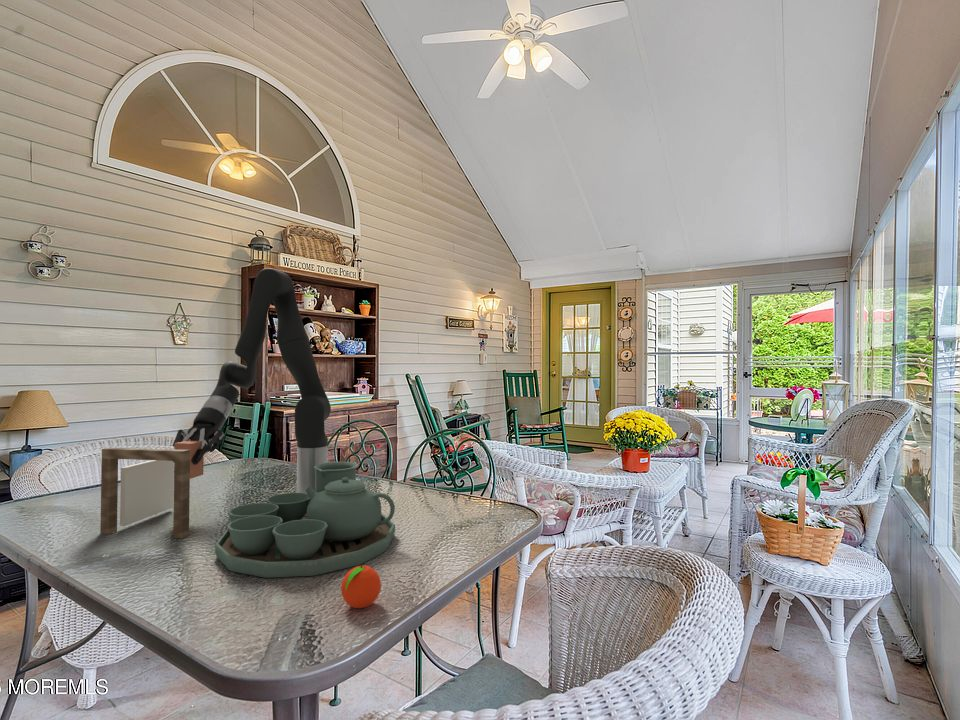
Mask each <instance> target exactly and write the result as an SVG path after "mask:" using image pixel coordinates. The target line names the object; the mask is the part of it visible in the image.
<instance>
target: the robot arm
mask: <svg viewBox="0 0 960 720" xmlns="http://www.w3.org/2000/svg"><path fill="white" fill-rule="evenodd" d="M296 297H297V296H296V290H295V287H294V283H293V279H292V278H291V276H290V275H289V274H287V273H286V272H284V271H281V270H279V269H274V268H271V267H266V268H263V269H261V270H260V271H258V273H257V275H256V276H255V278H254V281H253V287H252V292H251V297H250V302H249V307H248V310H247V315H246V319H245V322H244V326H243V328H242V331H241V334H240V336H239V338H238V341H237V344H236V346H235V348H234V353H235V355H236V356H238V357H239V358H241V359H243V361H245V364H246V365H244V364H241V363H239V362H237V361H234V360H233V361H232V360H229V361H226V362H224V363H223V364H222V365H221V368H220V371H219V376H218V381H217V384H216V386H215V387H214V390H213V391H212V393H211V394H210V396H209V398H208V399H207V400H206V401H205V402H204V404H203V406H202V407H201V408H200V409H199V411H198V413H197V415H196V416H195V418H194V420H193V423H192V426H191V427H190V428H189V429H188V430H183V429H179V430H177V433H176V436H175V438H174V441H173V443H172V447H174V443H178V442H183V441H199V442H201V444H200V445H199V449H197V451H196V453H195V454H194V456H193V457H192V459H191V462H192V463H193V464H194V465H197V464H198V463H199V462H200V461H201V459H202V457H203V456H204V455H206V454H207V453H213V452H214V451H215V450H216V449H217V448H218V447H219V446H220V444H221V443H222V442H223V441H224V440H225V438H226V435H225V434H224V432H223V431H222V430H221V429H222V427H223V426H224V424H225V423H226V421H227V419H228V417H229V416H230V414H231V412H232V409H233V407H234V405H236V403H237V400H238V399H239V396H240V391H239V390H238V388H242V389H249V388H251V387H252V386H253V385H254V384H255V381H256V377H257V364H258V358H259V355H260V352H261V350H262V347H263V345H264V341H265V339H266V334H267V333H266V332H267V318H268V313H269V310H270V306H271V305H272V304H273V306H274V309H275V312H276V314H277V315H276V316H277V327H276V329H277V330H276V340H277V341H276V342H277V345H278V350H279V352H280V356H281V358H282V360H283V363H284V365H285V367H286V368H287V369H288V371H289V373H290V374H291V376H292V377H293V379H294V380H295V383H296V384H297V386H298V387H297V388H298V389H299V393H300V399H299V400H298V401H297V402H296V405H295V408H294V435H295V436H294V437H295V439H296V449H297V450H296V493H306V494H307V492H306V489H307V488H308V487H309V486H310V487H311V488H312V489H313V490H314V491H315V492H316V469H315V468H314V466H316V465H318V464H322V463H329V462H328V461H329V459H328V455H329V454H328V453H329V452H328V451H329V450H328V448H329V446H328V445H329V443H328V442H329V439H328V436H327V434H326V432H325V421H327V420H328V418H329V417H330V414H331V410H332V409H331V407H332V406H331V403H330V400H329V398H328V396H327V394H326V391H325V389H324V386H323V384H322V382H321V379H320V376H319V371H318V369H317V364H316V362H315V358H314V355H313V351H312V348H311V347H312V346H311V344H310V341H309V338H308V334H307V332H306V329H305V325H304V322H303V320H302V317H301V314H300V310H299V306H298V301H297V298H296ZM204 457H205V456H204ZM173 462H174V461H173ZM310 501H311V500H310Z"/></svg>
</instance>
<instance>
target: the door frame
mask: <svg viewBox="0 0 960 720" xmlns="http://www.w3.org/2000/svg"><path fill="white" fill-rule="evenodd" d="M119 460H136V461H140V460H141V461H151V460H164V461H174V494H173V519H172V520H173V522H172V523H173V527H172V529H173V530H172V531H173V532H172V533H173V534H172V537H173V538H172V539H184V538H186V537H188V536H189V535H190V493H191V492H190V491H191V489H190V486H191V484H190V482H191V481H190V480H191V479H190V450H181V449H174V448H171V449H170V448H141V447H139V448H137V447H112V446H111V447H106V448H102V449H101V465H100V466H101V469H100V470H101V472H100V474H101V477H100V479H101V480H100V483H101V484H100V533H99V534H100V535H108V534H109V535H112V534H114V533H117V532H118V502H119V501H118V497H119V495H118V494H119V493H118V491H119V489H118V488H119V487H118V486H119ZM116 531H117V532H116ZM113 532H114V533H113ZM111 533H112V534H111Z"/></svg>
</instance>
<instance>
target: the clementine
mask: <svg viewBox="0 0 960 720" xmlns="http://www.w3.org/2000/svg"><path fill="white" fill-rule="evenodd" d="M340 586H341V588H340V589H341V590H340V591H341V596H342V598H343V600H344V601H345V603H346V604H347V605H348V606H350V607H352V608H355V609H364V608H367V607H369V606H370V605H372V604H373V603H374V602H375V601H376V600H377V599H378V598H379V595H380V592H381V588H382V584H381V578H380V576H379V573H378V572H377V571H376V570H375V569H374V568H372V567H371V566H368V565H357V566H353V567H352V569H350V570H349V571H347V573H346V574H345V575H344V577H343V579H342V581H341V585H340Z"/></svg>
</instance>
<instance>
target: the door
mask: <svg viewBox="0 0 960 720" xmlns="http://www.w3.org/2000/svg"><path fill="white" fill-rule="evenodd" d="M119 502H120V503H119V506H120V507H119V509H120V510H119V511H120V512H119V515H120V516H119V526H120V527H126V526H128V525H132V524H133V523H137V522H138V521H141V520H144V519H147V518H149V517H152V516H155V515H158V514H159V513H162V512H165V511H168V510H170V509H174V462H173V461H164V460H146V461H143V462H140V463H136V464H131V465H128V466H122V467H120V501H119Z"/></svg>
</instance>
